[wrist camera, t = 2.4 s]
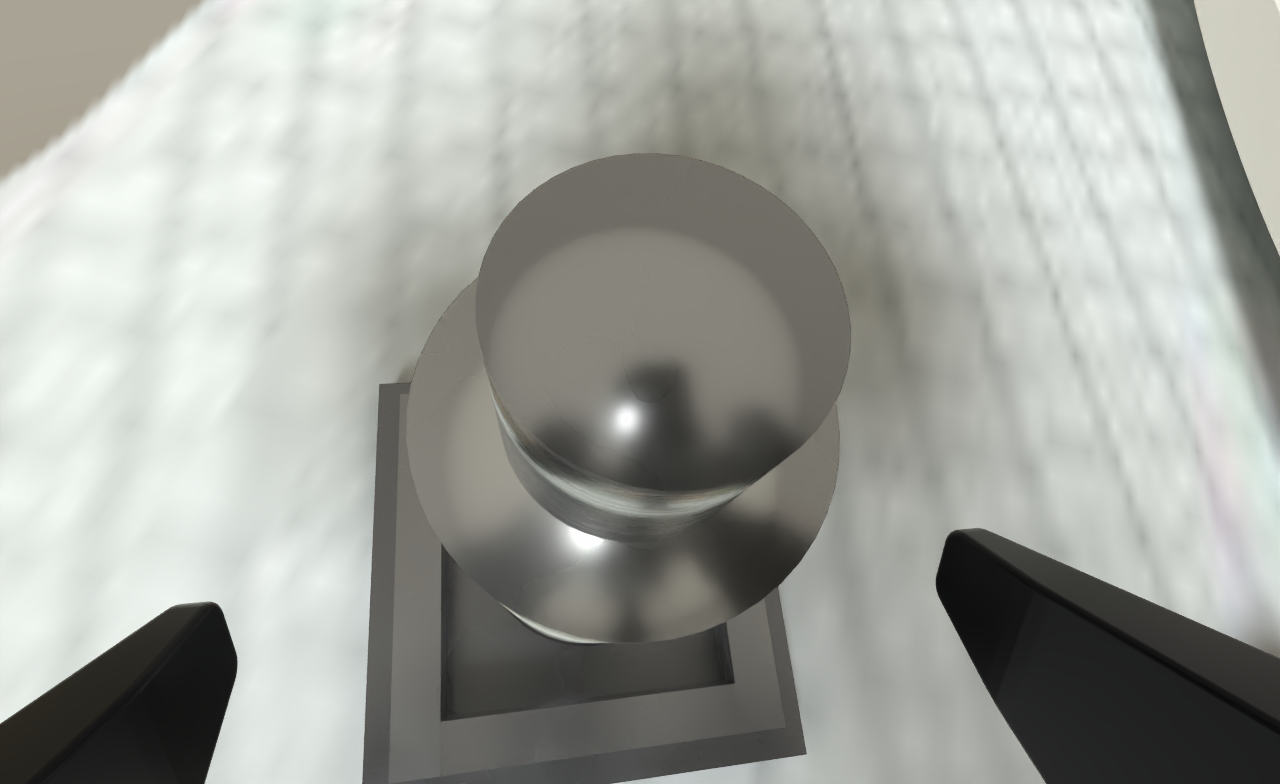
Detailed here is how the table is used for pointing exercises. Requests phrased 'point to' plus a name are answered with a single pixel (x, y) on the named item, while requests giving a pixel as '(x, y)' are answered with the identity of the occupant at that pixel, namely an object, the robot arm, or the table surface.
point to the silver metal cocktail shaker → (634, 402)
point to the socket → (545, 673)
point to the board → (1249, 89)
